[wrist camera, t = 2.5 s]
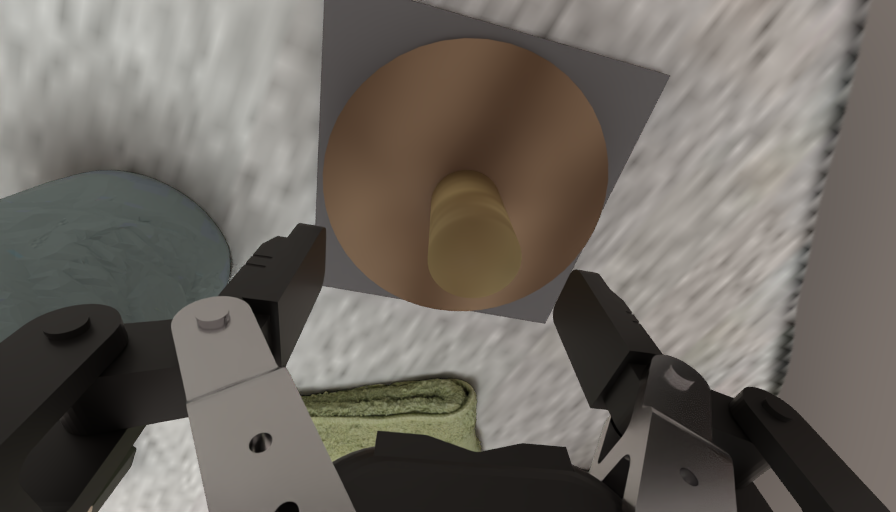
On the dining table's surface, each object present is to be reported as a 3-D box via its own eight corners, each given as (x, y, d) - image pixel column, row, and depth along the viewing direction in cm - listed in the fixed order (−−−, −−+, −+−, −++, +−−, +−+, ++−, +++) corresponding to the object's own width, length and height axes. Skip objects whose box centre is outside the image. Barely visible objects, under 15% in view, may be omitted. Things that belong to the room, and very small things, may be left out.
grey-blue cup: (279, 245, 19) (85, 484, 8) (199, 343, 22) (-5, 593, 12) (68, 106, 15) (-742, 234, 5) (14, 251, 19) (-509, 501, 8)
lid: (653, 85, 14) (770, 106, 9) (540, 316, 21) (572, 403, 16) (338, -4, 13) (268, -38, 8) (322, 278, 19) (279, 362, 14)
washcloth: (236, 390, 26) (211, 431, 23) (472, 364, 25) (476, 404, 22) (299, 479, 32) (286, 519, 30) (486, 462, 31) (490, 502, 29)
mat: (662, 74, 15) (670, 75, 14) (542, 317, 22) (544, 323, 21) (329, -22, 13) (325, -25, 12) (316, 277, 20) (312, 284, 19)
